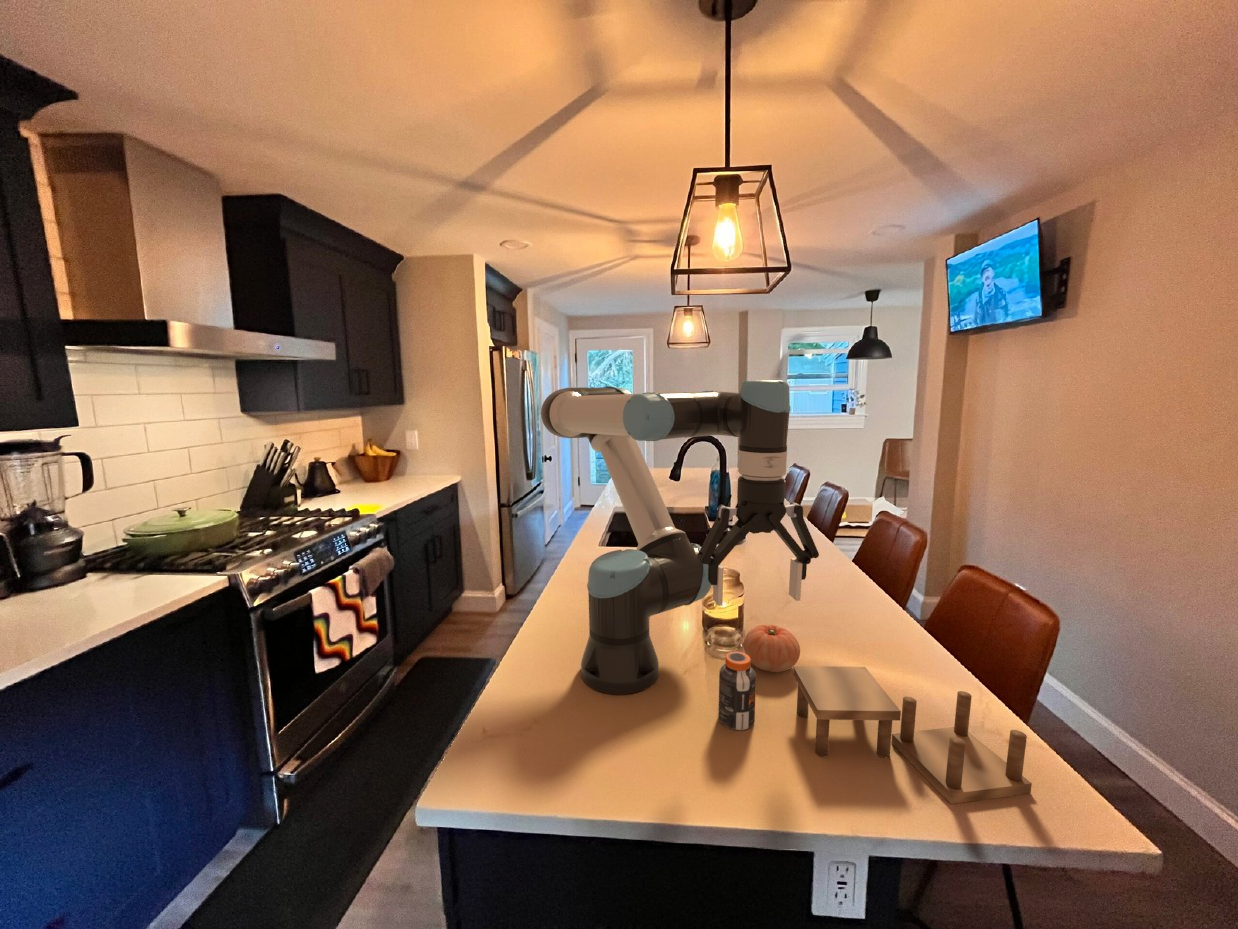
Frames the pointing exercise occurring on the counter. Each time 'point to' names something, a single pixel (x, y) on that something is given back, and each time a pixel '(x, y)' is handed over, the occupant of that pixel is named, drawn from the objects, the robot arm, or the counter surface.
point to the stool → (844, 701)
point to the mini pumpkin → (771, 648)
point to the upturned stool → (961, 757)
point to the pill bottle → (737, 692)
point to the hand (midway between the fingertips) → (756, 600)
